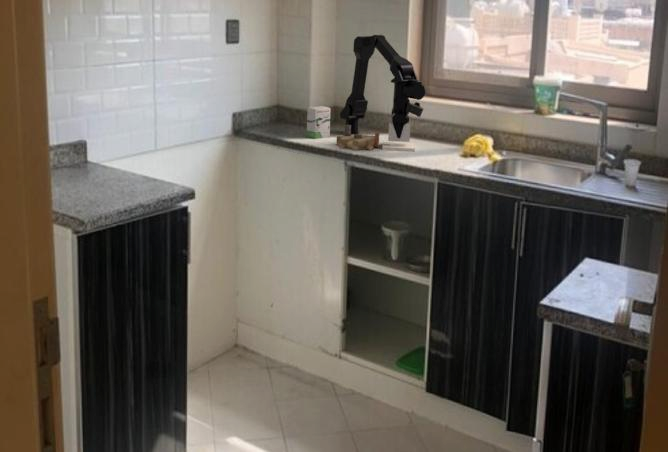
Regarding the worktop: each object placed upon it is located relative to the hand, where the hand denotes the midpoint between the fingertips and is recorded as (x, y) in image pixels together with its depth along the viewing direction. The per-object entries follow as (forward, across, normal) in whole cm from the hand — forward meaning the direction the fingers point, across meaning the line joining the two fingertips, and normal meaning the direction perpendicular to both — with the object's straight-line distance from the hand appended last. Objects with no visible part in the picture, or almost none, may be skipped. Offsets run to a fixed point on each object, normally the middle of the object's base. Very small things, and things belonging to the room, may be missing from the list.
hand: (398, 137), depth 321 cm
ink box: (+4, +14, +32) cm, 35 cm away
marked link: (+1, 0, 0) cm, 1 cm away
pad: (+4, 0, 0) cm, 4 cm away
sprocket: (+4, -1, +16) cm, 16 cm away
